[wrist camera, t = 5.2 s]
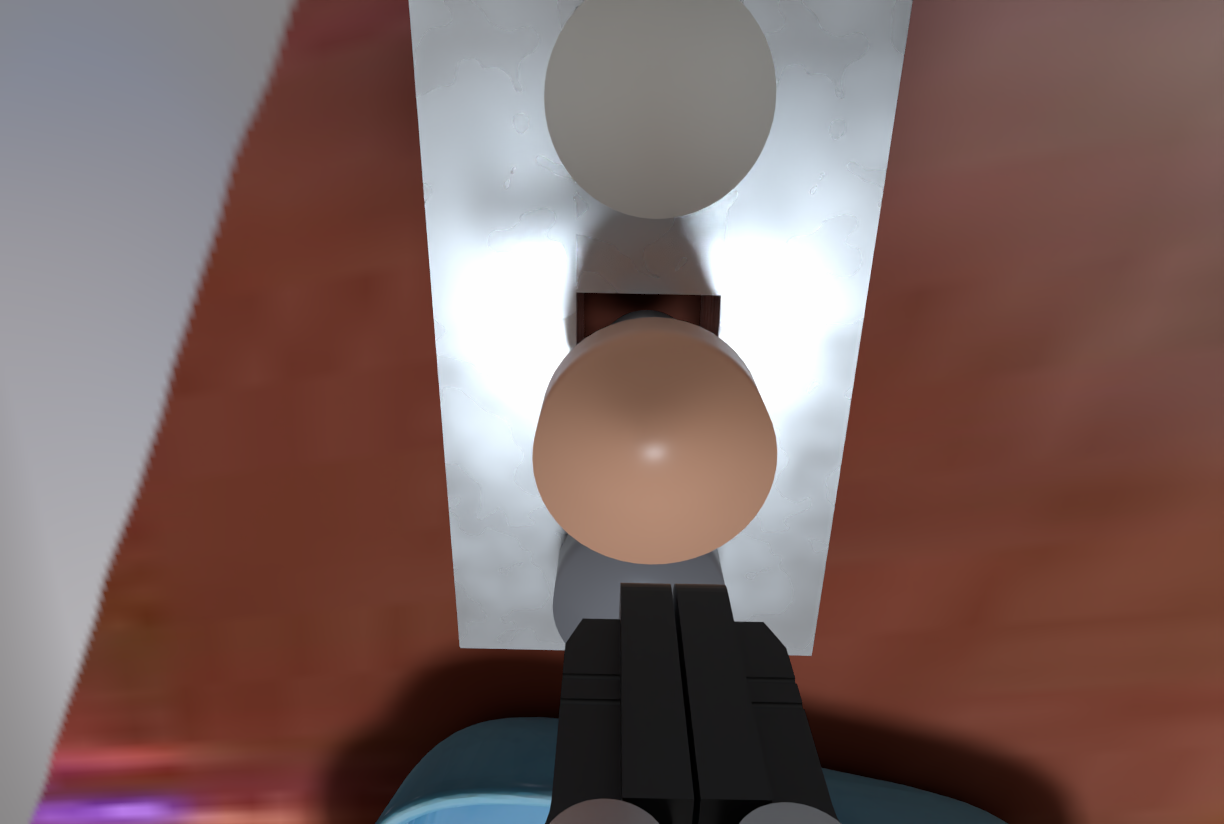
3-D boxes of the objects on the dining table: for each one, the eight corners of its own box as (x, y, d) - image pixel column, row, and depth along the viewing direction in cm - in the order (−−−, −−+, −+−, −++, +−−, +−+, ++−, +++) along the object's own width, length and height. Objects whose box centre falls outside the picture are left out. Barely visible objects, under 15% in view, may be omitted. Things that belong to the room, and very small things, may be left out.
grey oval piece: (743, -2, 22) (788, -30, 16) (728, 183, 24) (764, 220, 18) (563, -5, 22) (541, -35, 16) (565, 180, 24) (546, 217, 18)
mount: (860, -34, 22) (921, -61, 18) (783, 569, 31) (811, 655, 26) (447, -41, 22) (403, -70, 18) (484, 562, 31) (459, 647, 26)
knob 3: (710, 435, 28) (734, 537, 22) (701, 555, 30) (721, 679, 24) (567, 432, 28) (551, 533, 22) (567, 552, 30) (553, 675, 24)
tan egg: (742, 269, 21) (790, 348, 15) (727, 438, 24) (764, 567, 17) (555, 266, 21) (529, 343, 15) (558, 434, 24) (535, 561, 17)
